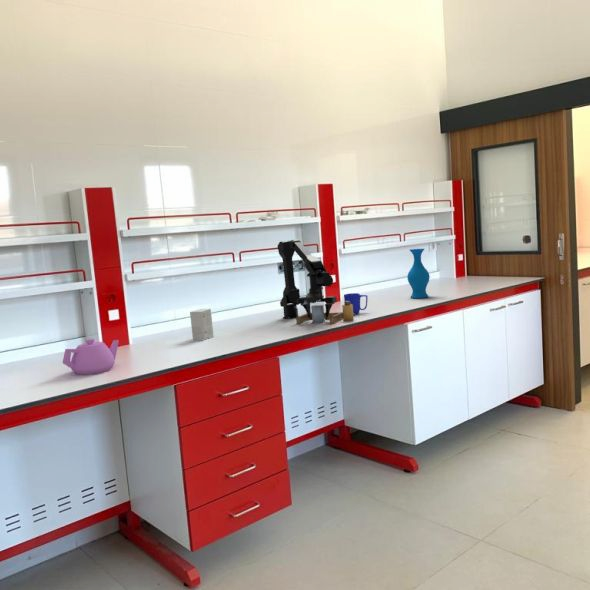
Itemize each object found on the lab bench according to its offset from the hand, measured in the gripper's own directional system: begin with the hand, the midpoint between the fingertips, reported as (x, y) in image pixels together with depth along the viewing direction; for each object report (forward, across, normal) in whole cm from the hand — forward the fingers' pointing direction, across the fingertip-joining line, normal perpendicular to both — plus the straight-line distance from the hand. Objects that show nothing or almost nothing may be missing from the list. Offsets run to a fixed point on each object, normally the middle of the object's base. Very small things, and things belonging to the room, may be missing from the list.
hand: (318, 317), depth 297 cm
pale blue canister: (+2, 0, +1) cm, 2 cm away
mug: (+2, +11, +24) cm, 27 cm away
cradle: (+2, 0, +1) cm, 2 cm away
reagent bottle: (+2, +14, +4) cm, 15 cm away
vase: (+2, +30, +78) cm, 84 cm away
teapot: (+2, -48, -101) cm, 112 cm away
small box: (+2, -39, -42) cm, 57 cm away
